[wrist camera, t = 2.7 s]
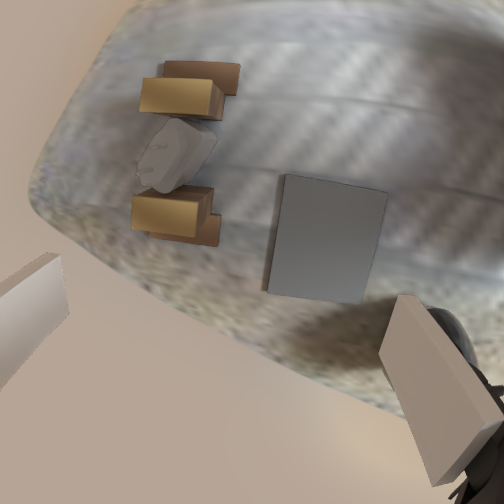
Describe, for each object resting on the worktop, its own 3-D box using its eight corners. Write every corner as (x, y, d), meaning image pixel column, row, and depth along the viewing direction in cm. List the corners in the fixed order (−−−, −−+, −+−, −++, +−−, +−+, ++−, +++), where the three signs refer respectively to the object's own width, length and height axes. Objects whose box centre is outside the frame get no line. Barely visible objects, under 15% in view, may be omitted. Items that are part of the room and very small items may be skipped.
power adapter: (164, 167, 30) (105, 185, 18) (193, 119, 28) (147, 108, 17) (190, 184, 30) (143, 211, 19) (221, 136, 29) (189, 134, 17)
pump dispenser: (447, 348, 35) (499, 429, 21) (375, 373, 37) (408, 469, 22) (448, 281, 32) (521, 357, 18) (366, 307, 34) (413, 406, 19)
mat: (285, 174, 29) (286, 174, 29) (386, 192, 29) (388, 193, 29) (267, 290, 33) (267, 293, 33) (358, 302, 33) (360, 304, 33)
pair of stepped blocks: (167, 62, 26) (138, 42, 19) (240, 65, 26) (230, 42, 19) (151, 235, 32) (120, 262, 25) (218, 244, 32) (203, 275, 25)
